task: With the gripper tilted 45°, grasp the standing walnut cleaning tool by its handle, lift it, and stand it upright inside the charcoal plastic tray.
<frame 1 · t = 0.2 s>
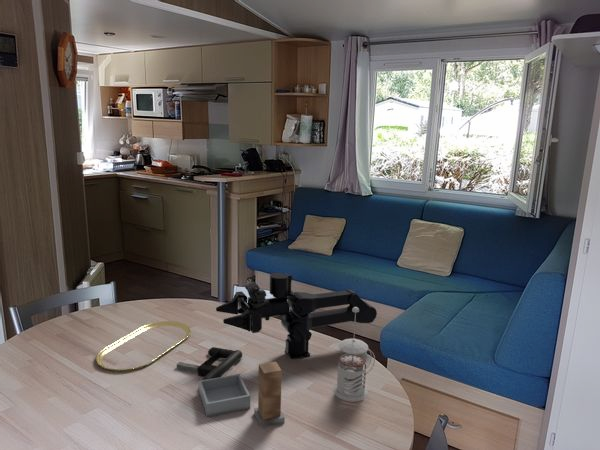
hand: (219, 315, 135), 17 cm above the table, tool horizontal, fingers open, 9 cm apart
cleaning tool: (269, 418, 115), on the table
gold oval ring: (147, 347, 150), on the table
french press: (353, 391, 128), on the table
door handle: (207, 369, 138), on the table
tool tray: (224, 400, 122), on the table
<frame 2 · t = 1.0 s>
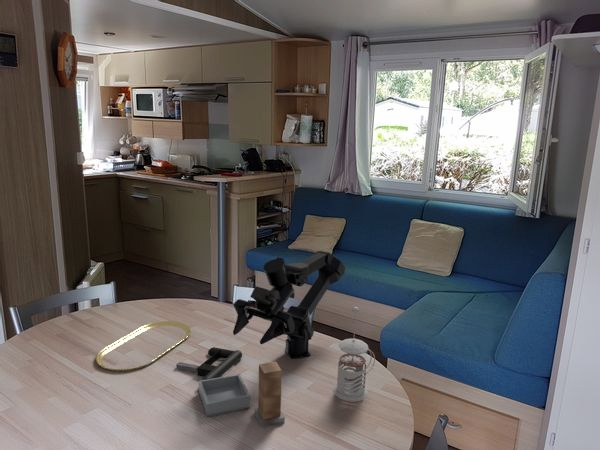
hand: (246, 338, 123), 15 cm above the table, tool tilted 60°, fingers open, 9 cm apart
nothing on the table moved.
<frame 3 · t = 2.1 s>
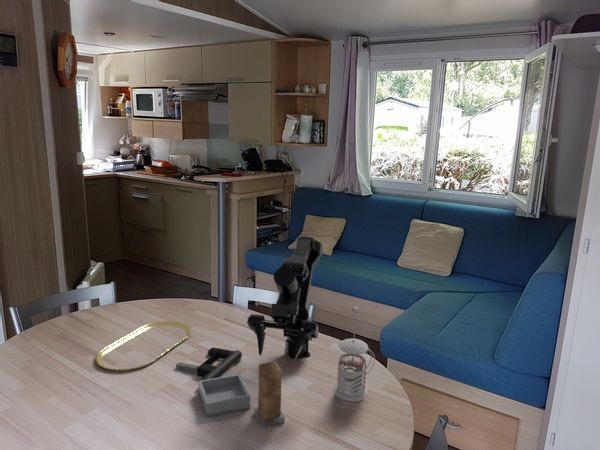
hand: (277, 357, 119), 13 cm above the table, tool tilted 45°, fingers open, 9 cm apart
nothing on the table moved.
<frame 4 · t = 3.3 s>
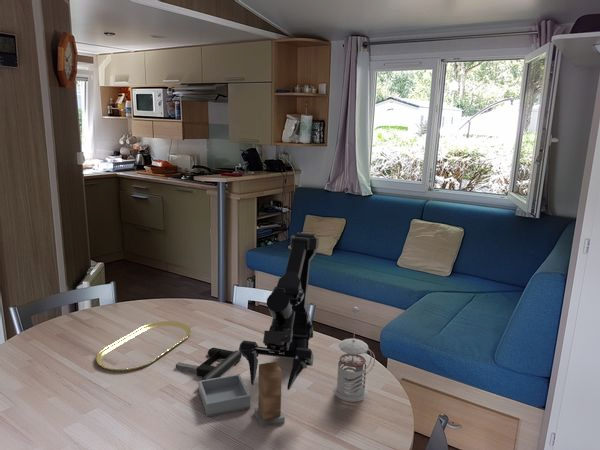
hand: (270, 387, 113), 8 cm above the table, tool tilted 45°, fingers open, 9 cm apart
nothing on the table moved.
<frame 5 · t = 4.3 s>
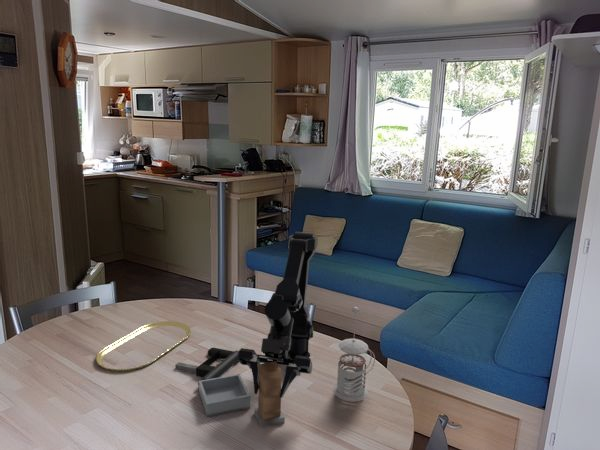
hand: (268, 395, 112), 7 cm above the table, tool tilted 45°, fingers closed on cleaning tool, 6 cm apart
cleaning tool: (269, 418, 115), on the table, touching gripper
everything else where it was.
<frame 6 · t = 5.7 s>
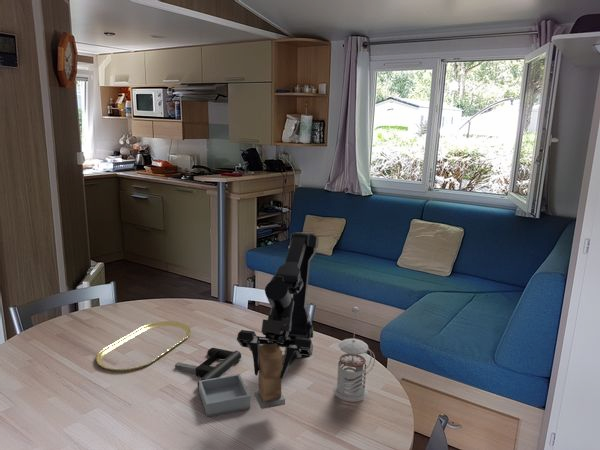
hand: (268, 377, 111), 12 cm above the table, tool tilted 45°, fingers closed on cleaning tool, 6 cm apart
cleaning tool: (269, 400, 114), point 5 cm above the table, touching gripper
everything else where it was.
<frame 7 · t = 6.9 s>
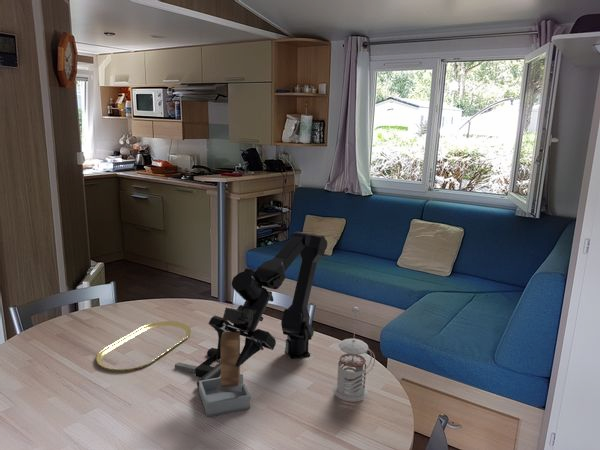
hand: (226, 362, 116), 12 cm above the table, tool tilted 45°, fingers closed on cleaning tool, 6 cm apart
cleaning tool: (230, 385, 119), point 5 cm above the table, touching gripper
everything else where it was.
when the fingers open (9 cm above the table, at t = 8.4 s): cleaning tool drops 2 cm, resting on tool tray.
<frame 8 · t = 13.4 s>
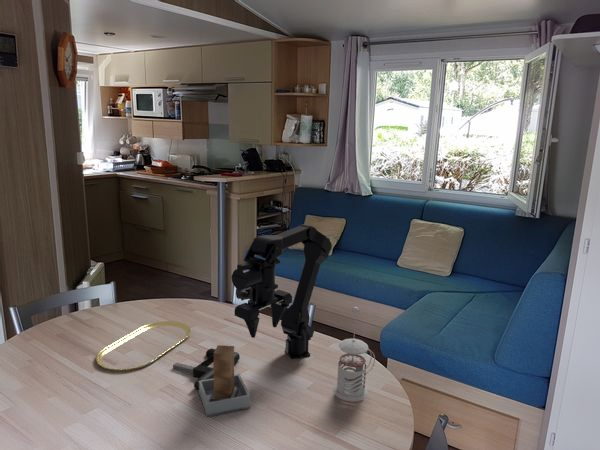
hand: (263, 332, 133), 13 cm above the table, tool pointing down, fingers open, 9 cm apart
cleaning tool: (224, 398, 122), point 1 cm above the table, touching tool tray
at the end: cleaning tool 0.1 cm off-centre on the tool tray, point 0.6 cm above the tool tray's base; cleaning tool tilted 0°; the gripper is holding nothing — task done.
